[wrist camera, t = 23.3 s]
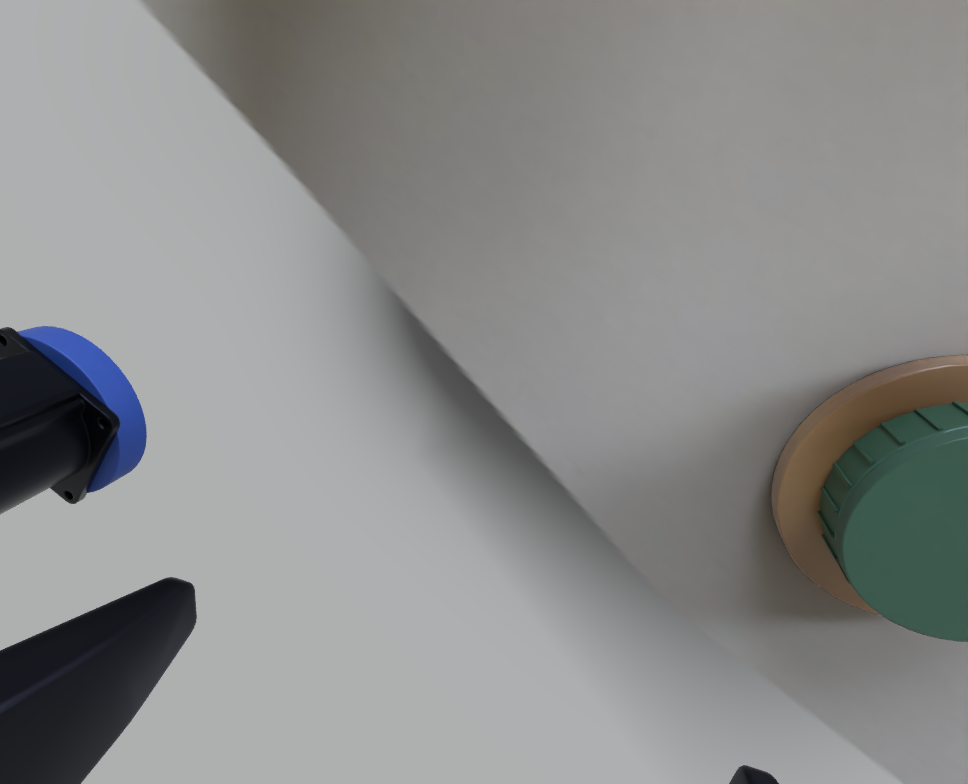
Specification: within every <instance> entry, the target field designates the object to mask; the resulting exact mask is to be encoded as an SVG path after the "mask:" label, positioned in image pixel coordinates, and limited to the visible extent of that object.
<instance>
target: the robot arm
mask: <svg viewBox="0 0 968 784" xmlns="http://www.w3.org/2000/svg"><path fill="white" fill-rule="evenodd" d="M120 425H121V424H120V420H119V418H118V416H117V415H116V414H115V413H114V412H113V411H112V410H111V409H109V408H108V407H107V406H106V405H104V404H103V403H102V402H101V401H100V400H98V399H97V398H96V397H95V396H94V395H92V394H91V393H90V392H89V391H88V390H86V389H85V388H84V387H83V386H82V385H80V384H79V383H78V382H77V381H75V380H74V379H73V378H72V377H71V376H69V375H68V374H67V373H66V372H65V371H63V370H62V369H61V368H60V367H59V366H57V365H56V364H55V363H54V362H53V361H51V360H50V359H49V358H48V357H47V356H45V355H44V354H43V353H42V352H40V351H39V350H38V349H37V348H36V347H34V346H33V345H32V344H31V343H30V342H28V341H27V340H26V339H25V338H24V337H22V336H21V335H20V334H19V333H18V332H16V331H15V330H14V329H12V328H9V327H6V328H2V329H0V514H2V513H4V512H5V511H7V510H9V509H11V508H13V507H15V506H17V505H19V504H20V503H22V502H24V501H26V500H28V499H30V498H32V497H33V496H35V495H37V494H39V493H41V492H43V491H45V490H46V489H48V488H51V489H52V490H53V491H55V492H56V493H57V494H58V495H59V496H60V497H62V498H63V499H64V500H65V501H67V502H69V503H71V504H75V503H77V502H79V501H80V500H82V499H83V498H84V497H85V496H86V493H87V492H88V490H89V488H90V486H91V484H92V482H93V480H94V478H95V476H96V474H97V472H98V470H99V468H100V466H101V464H102V462H103V460H104V458H105V456H106V454H107V452H108V450H109V448H110V446H111V444H112V442H113V440H114V438H115V436H116V434H117V432H118V430H119V428H120ZM196 618H197V615H196V601H195V589H194V586H193V585H192V584H191V583H190V582H186V581H184V580H181V579H178V578H173V577H169V578H165V579H162V580H160V581H158V582H156V583H153V584H151V585H149V586H146V587H145V588H142V589H140V590H138V591H135V592H133V593H131V594H128V595H126V596H124V597H121V598H119V599H117V600H115V601H112V602H110V603H108V604H106V605H103V606H101V607H99V608H96V609H94V610H92V611H89V612H87V613H85V614H83V615H80V616H78V617H76V618H74V619H71V620H69V621H67V622H65V623H62V624H60V625H58V626H55V627H53V628H51V629H48V630H46V631H44V632H42V633H39V634H37V635H35V636H32V637H30V638H28V639H26V640H23V641H21V642H19V643H17V644H14V645H12V646H10V647H7V648H5V649H3V650H1V651H0V784H81V782H82V781H83V780H84V779H85V778H86V776H87V775H88V774H89V773H90V771H91V770H92V769H93V768H94V767H95V765H96V764H97V763H98V762H99V760H100V759H101V758H102V757H103V755H104V754H105V753H106V752H107V751H108V749H109V748H110V747H111V746H112V744H113V743H114V742H115V741H116V739H117V738H118V737H119V736H120V734H121V733H122V732H123V730H124V729H125V728H126V727H127V725H128V724H129V723H130V722H131V720H132V719H133V717H134V716H135V715H136V713H137V712H138V710H139V709H140V708H141V706H142V705H143V703H144V702H145V700H146V699H147V697H148V696H149V694H150V693H151V692H152V690H153V688H154V687H155V686H156V684H157V683H158V681H159V680H160V678H161V677H162V675H163V674H164V672H165V671H166V669H167V668H168V666H169V665H170V663H171V662H172V660H173V659H174V657H175V656H176V655H177V653H178V652H179V650H180V649H181V647H182V646H183V644H184V643H185V641H186V640H187V638H188V637H189V635H190V634H191V632H192V630H193V628H194V626H195V623H196ZM729 784H779V783H778V782H777V780H776V779H774V777H773V776H772V775H771V774H769V773H767V772H765V771H762V770H759V769H755V768H752V767H749V766H745V765H743V766H741V767H739V769H738V770H737V771H736V773H735V775H734V776H733V778H732V780H731V782H730V783H729Z"/></svg>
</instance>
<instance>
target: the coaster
mask: <svg viewBox="0 0 968 784" xmlns="http://www.w3.org/2000/svg"><path fill="white" fill-rule="evenodd" d="M953 401H958V402H959V403H968V355H957V356H941V357H934V358H928V359H922V360H916V361H911V362H908V363H904V364H900V365H897V366H893V367H889V368H887V369H884V370H882V371H879V372H876V373H874V374H871V375H868V376H866V377H864V378H862V379H860V380H858V381H856V382H854V383H852V384H850V385H848V386H847V387H845V388H844V389H842V390H841V391H839V392H837V393H836V394H834V395H833V396H831V397H830V398H828V399H827V400H826V401H825V402H823V403H822V404H821V405H820V406H819V407H817V408H816V409H815V410H814V411H813V412H812V413H811V414H810V415H809V416H808V417H807V418H806V419H805V420H804V421H803V422H802V423H801V424H800V425H799V427H798V428H797V429H796V431H795V432H794V433H793V435H792V436H791V437H790V439H789V440H788V442H787V444H786V446H785V448H784V450H783V451H782V453H781V455H780V458H779V460H778V463H777V466H776V469H775V472H774V477H773V482H772V496H771V502H772V509H773V516H774V519H775V522H776V525H777V528H778V531H779V533H780V536H781V538H782V541H783V543H784V545H785V546H786V548H787V550H788V552H789V554H790V556H791V557H792V559H793V560H794V561H795V563H796V564H797V566H798V567H799V568H800V569H801V570H802V571H803V572H804V573H805V574H806V575H807V576H808V577H809V578H810V579H811V580H812V581H813V582H814V583H816V584H817V585H818V586H820V587H821V588H822V589H823V590H825V591H826V592H828V593H830V594H831V595H833V596H835V597H836V598H838V599H840V600H842V601H844V602H846V603H848V604H850V605H852V606H855V607H857V608H860V609H863V610H866V611H869V612H871V613H874V614H878V615H880V614H879V613H878V612H876V611H875V610H874V609H872V608H871V607H870V606H869V605H868V604H867V603H866V602H865V601H864V600H863V599H862V598H861V597H860V596H859V595H858V594H857V592H856V591H855V589H854V588H853V587H852V585H851V584H849V583H848V582H847V580H846V578H845V576H844V574H843V572H842V571H841V569H840V567H839V565H838V563H837V562H836V561H835V560H834V558H833V556H832V554H831V552H830V550H829V548H828V547H827V545H826V543H825V541H824V539H823V537H822V535H821V534H824V532H823V529H822V525H821V520H820V518H819V516H818V514H817V511H820V499H821V495H822V491H821V490H820V489H821V487H824V484H825V482H826V480H827V477H828V475H829V473H830V472H831V470H832V468H833V466H832V464H833V463H836V462H837V461H838V460H839V458H840V457H841V456H842V455H843V454H844V452H845V451H846V450H847V449H849V448H850V447H851V446H852V445H853V443H852V442H853V441H855V440H856V441H857V440H859V439H860V438H861V437H863V436H864V435H865V434H867V433H868V432H870V431H871V430H873V429H875V428H876V427H878V426H880V425H881V424H880V423H882V422H887V421H890V420H892V419H894V418H896V417H898V416H901V415H904V414H907V413H910V412H912V411H915V409H916V408H919V409H923V408H928V407H932V406H937V405H944V404H951V403H953Z"/></svg>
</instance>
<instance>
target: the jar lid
mask: <svg viewBox="0 0 968 784" xmlns="http://www.w3.org/2000/svg"><path fill="white" fill-rule="evenodd" d="M880 424H881V425H880V426H878V427H876V428H875V429H873V430H871V431H870V432H868V433H867V434H865V435H864V436H863V437H861V438H860V439H859V440H857V441H856V440H855V441H853V442H852V443H853V445H852V446H851V447H850V448H849V449H847V450H846V451H845V452H844V454H843V455H842V456H841V457H840V458H839V460H838V461H837V462H836V463H833V464H832V466H833V468H832V470H831V472H830V473H829V475H828V477H827V480H826V482H825V484H824V487H821V489H820V490H821V491H822V495H821V499H820V511H817V514H818V516H819V518H820V520H821V525H822V529H823V532H824V534H821V535H822V537H823V539H824V541H825V543H826V545H827V547H828V548H829V550H830V552H831V554H832V556H833V558H834V560H835V561H836V562H837V563H838V565H839V567H840V569H841V571H842V572H843V574H844V576H845V578H846V580H847V582H848V583H849V584H851V585H852V587H853V588H854V589H855V591H856V592H857V594H858V595H859V596H860V597H861V598H862V599H863V600H864V601H865V602H866V603H867V604H868V605H869V606H870V607H871V608H872V609H874V610H875V611H876V612H878V613H879V614H880V615H882V616H883V617H885V618H887V619H888V620H890V621H892V622H893V623H895V624H898V625H900V626H902V627H904V628H906V629H909V630H912V631H914V632H917V633H920V634H923V635H927V636H931V637H935V638H940V639H946V640H953V641H961V642H968V403H959V402H958V401H953V403H951V404H944V405H937V406H932V407H928V408H923V409H919V408H916V409H915V411H912V412H910V413H907V414H904V415H901V416H898V417H896V418H894V419H892V420H890V421H887V422H882V423H880Z"/></svg>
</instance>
